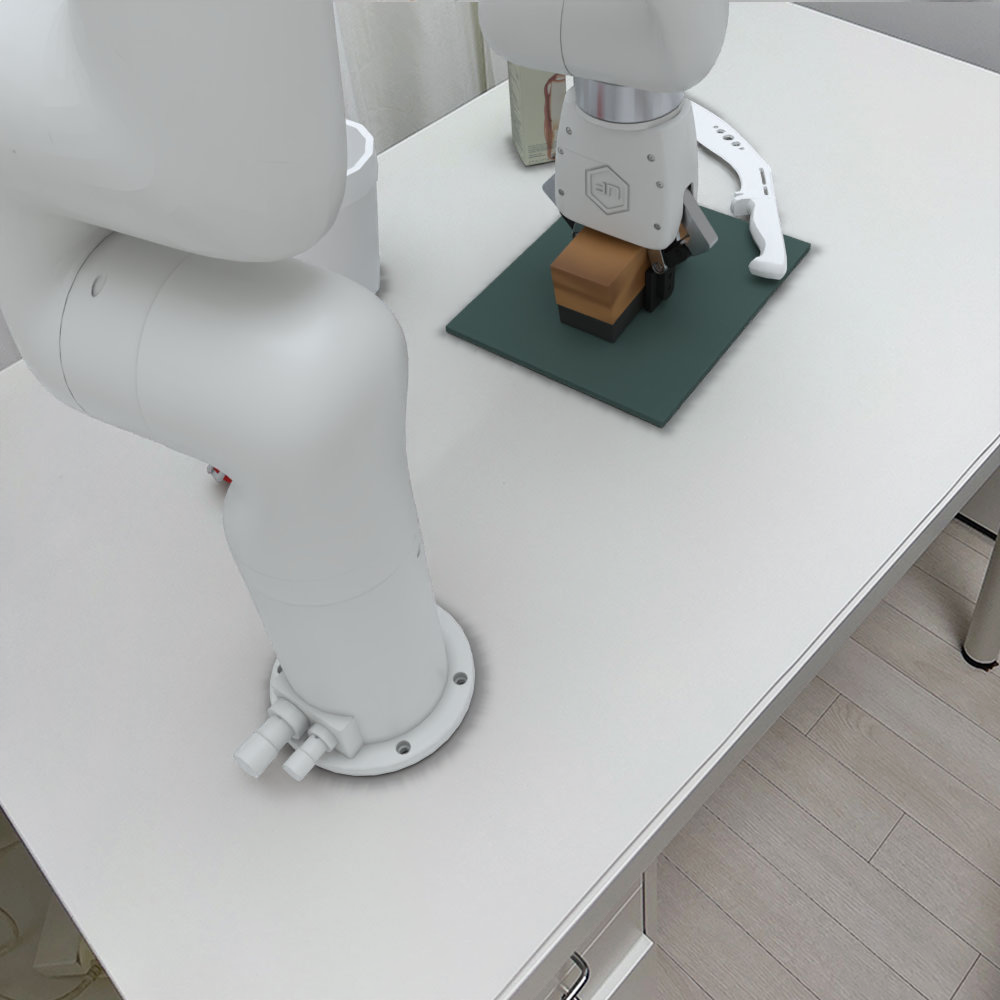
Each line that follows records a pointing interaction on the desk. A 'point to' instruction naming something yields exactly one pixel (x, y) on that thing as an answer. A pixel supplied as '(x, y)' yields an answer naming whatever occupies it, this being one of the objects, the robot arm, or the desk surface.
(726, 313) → the mat
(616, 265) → the scrub brush
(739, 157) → the knife
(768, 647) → the desk surface
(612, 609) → the desk surface
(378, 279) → the foam cup
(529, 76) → the cream tall box
